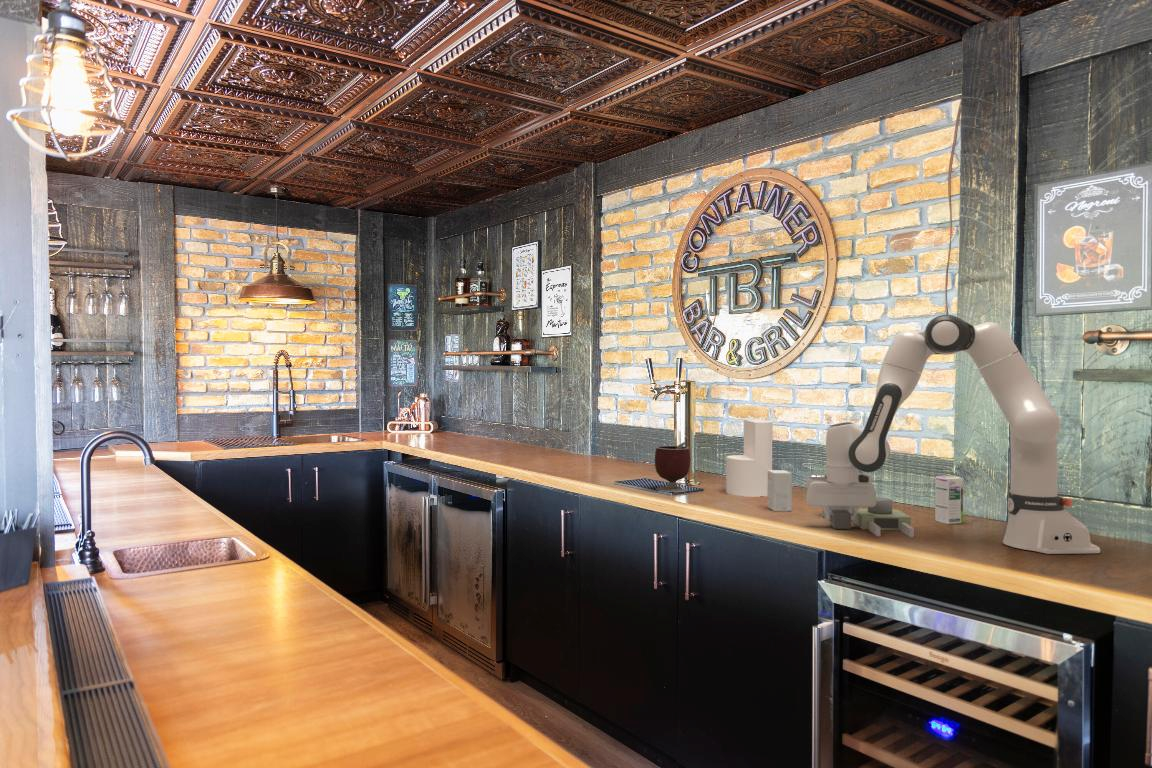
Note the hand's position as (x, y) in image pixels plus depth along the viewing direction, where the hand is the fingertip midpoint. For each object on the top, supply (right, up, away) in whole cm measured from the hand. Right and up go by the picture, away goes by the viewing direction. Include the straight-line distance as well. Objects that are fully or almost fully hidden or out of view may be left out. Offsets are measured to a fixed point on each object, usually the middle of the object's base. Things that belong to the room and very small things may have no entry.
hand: (840, 521), depth 230 cm
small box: (-11, -2, +30) cm, 32 cm away
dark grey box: (0, -2, 0) cm, 2 cm away
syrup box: (+37, -2, +9) cm, 38 cm away
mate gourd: (-42, -1, +68) cm, 80 cm away
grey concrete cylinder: (+5, -2, +18) cm, 18 cm away
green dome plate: (+13, -2, -2) cm, 13 cm away
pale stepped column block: (-13, -1, +63) cm, 65 cm away
